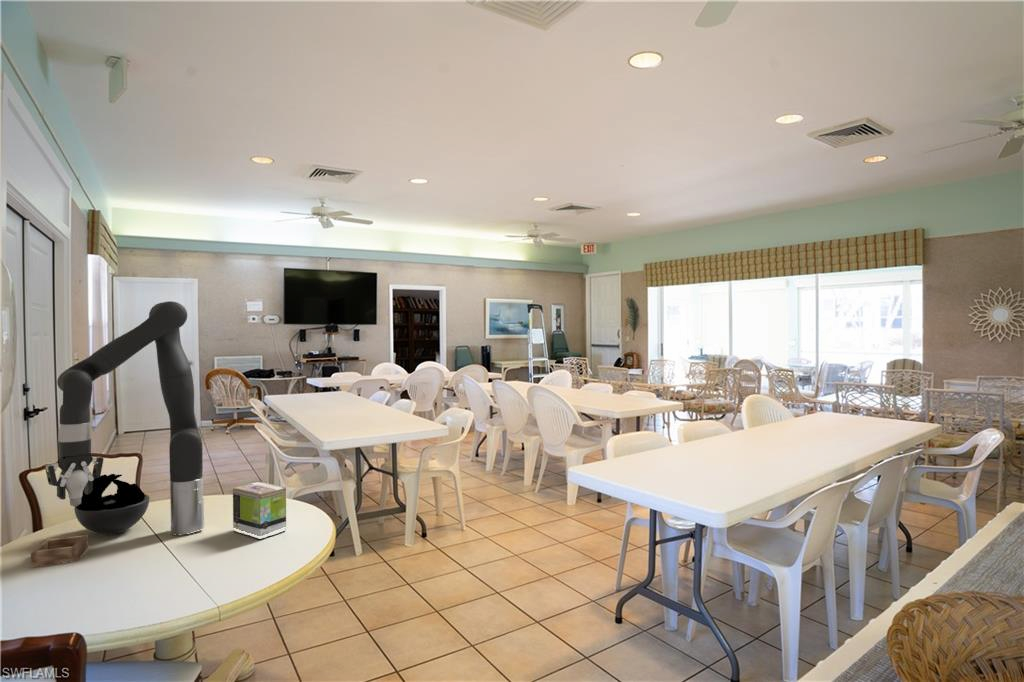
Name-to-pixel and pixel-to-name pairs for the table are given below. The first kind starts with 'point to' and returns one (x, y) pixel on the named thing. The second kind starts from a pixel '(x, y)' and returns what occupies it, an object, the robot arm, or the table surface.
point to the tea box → (259, 508)
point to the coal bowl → (111, 506)
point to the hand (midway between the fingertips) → (75, 496)
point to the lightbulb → (76, 486)
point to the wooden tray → (59, 550)
